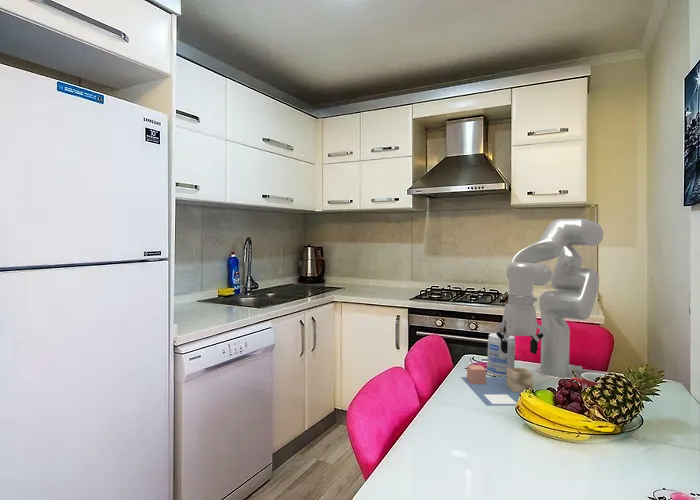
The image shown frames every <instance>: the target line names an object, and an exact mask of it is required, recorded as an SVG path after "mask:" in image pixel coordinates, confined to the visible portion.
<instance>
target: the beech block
mask: <svg viewBox="0 0 700 500" xmlns="http://www.w3.org/2000/svg"><path fill="white" fill-rule="evenodd" d="M506 377H507V387H509V388H510V389H511V390H512V391H513V392H523V391H524V390H525V389H527V388H531V389H532V390H533V377H534V374H533V373H532V372H531V371H530V370H528V369H526V367H514V368H507V376H506Z"/></svg>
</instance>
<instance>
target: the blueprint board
mask: <svg viewBox="0 0 700 500" xmlns="http://www.w3.org/2000/svg"><path fill="white" fill-rule="evenodd" d="M460 378H461V379H462V381H463V382H464V383H466V385H467V386H468V387H469V388H470V389H471V391H473V392H474V394H475V395H476V396H477V398H479V400H481V401H482V403H484V404H485V406H487V407H490V406H491V407H493V406H495V407H497V406H498V407H500V406H501V407H502V406H503V407H504V406H505V407H506V406H511V407H513V406H514V407H516V406H515V404H516V402H517V401H518V399H519V394H520V393H521V392H513V391H512V390H511V389H510V388H509V387H507V376H486V384H471V383H470V382H469V381H468V380H467V376H460Z"/></svg>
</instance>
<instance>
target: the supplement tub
mask: <svg viewBox="0 0 700 500" xmlns="http://www.w3.org/2000/svg"><path fill="white" fill-rule="evenodd" d="M500 333H501V334H502V333H503V332H500ZM506 341H507V342H508V351H507V353H504V352H502V350H501V339H500V338H499V337H498V336H497V335H496V333H495V332H494V333H493V332H492V333H489V334H488V339H487V358H486V359H487V361H486V373H487V372H488V373H489V374H491V375H494V376H498V377H507V368H515V357H516V337H515V336H511V335H510V336H509V337H508V339H507V340H506Z"/></svg>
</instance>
